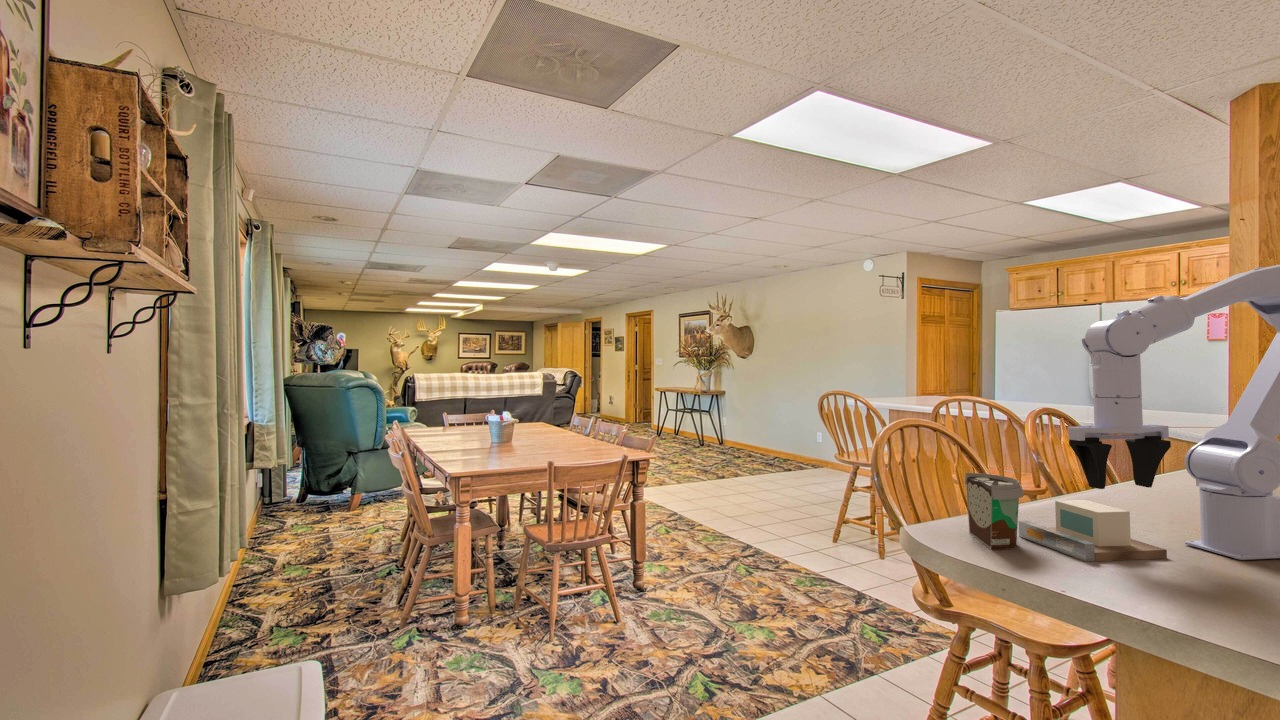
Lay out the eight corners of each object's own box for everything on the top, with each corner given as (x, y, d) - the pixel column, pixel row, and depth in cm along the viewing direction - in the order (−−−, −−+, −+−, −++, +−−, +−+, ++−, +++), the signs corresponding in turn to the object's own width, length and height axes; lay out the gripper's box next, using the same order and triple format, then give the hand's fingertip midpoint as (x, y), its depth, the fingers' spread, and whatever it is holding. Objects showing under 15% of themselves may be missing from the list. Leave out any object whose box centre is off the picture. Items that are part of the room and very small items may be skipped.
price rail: (1027, 535, 96) (1026, 520, 96) (1094, 561, 83) (1094, 543, 83) (1017, 536, 95) (1017, 521, 95) (1084, 561, 82) (1083, 543, 82)
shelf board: (1090, 533, 96) (1089, 526, 96) (1166, 558, 83) (1166, 549, 83) (1027, 535, 96) (1027, 528, 96) (1095, 561, 83) (1095, 552, 83)
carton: (1130, 545, 86) (1129, 511, 86) (1098, 546, 85) (1097, 512, 85) (1085, 530, 94) (1084, 499, 94) (1055, 531, 93) (1054, 500, 93)
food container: (1040, 554, 86) (1038, 486, 86) (995, 552, 87) (993, 485, 87) (1005, 532, 98) (1004, 472, 98) (966, 530, 99) (964, 472, 99)
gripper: (1136, 395, 93) (1140, 480, 92) (1051, 397, 92) (1054, 483, 91) (1181, 397, 86) (1184, 489, 85) (1089, 399, 85) (1092, 492, 84)
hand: (1120, 487), depth 88 cm, fingers open, 7 cm apart
